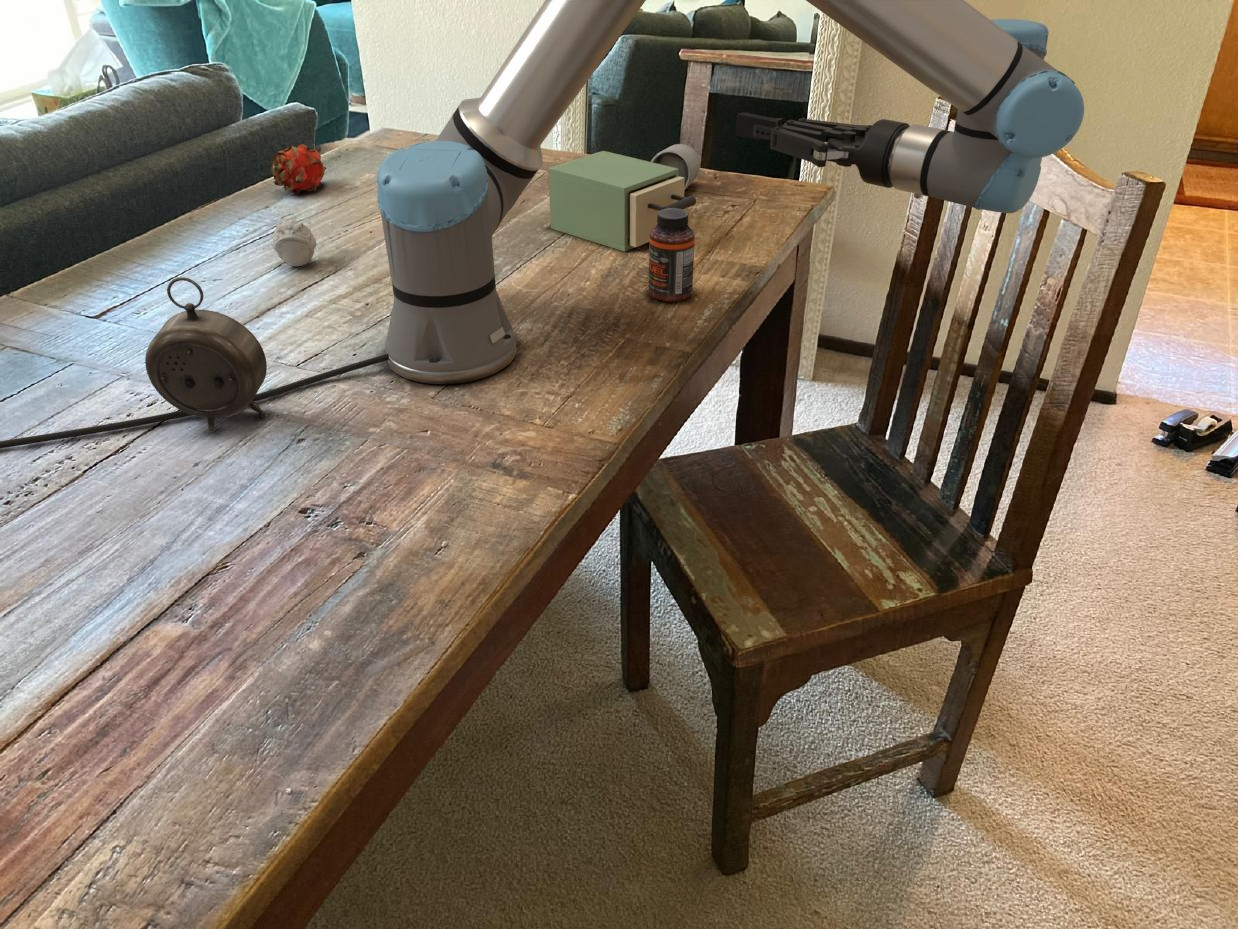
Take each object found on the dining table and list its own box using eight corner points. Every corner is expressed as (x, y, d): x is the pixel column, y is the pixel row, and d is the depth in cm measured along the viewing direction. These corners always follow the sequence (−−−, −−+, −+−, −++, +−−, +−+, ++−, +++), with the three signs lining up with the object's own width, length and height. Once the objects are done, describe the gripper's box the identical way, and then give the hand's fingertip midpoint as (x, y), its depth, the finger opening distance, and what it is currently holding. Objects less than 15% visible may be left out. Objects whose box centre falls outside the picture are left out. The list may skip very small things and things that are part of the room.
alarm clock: (280, 408, 100) (245, 266, 91) (264, 434, 96) (226, 288, 87) (179, 409, 100) (135, 267, 91) (158, 435, 96) (110, 289, 87)
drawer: (704, 233, 142) (707, 182, 138) (657, 254, 135) (658, 201, 131) (613, 207, 153) (613, 159, 148) (565, 225, 146) (563, 176, 141)
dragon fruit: (278, 209, 160) (320, 199, 170) (309, 183, 156) (350, 174, 166) (249, 166, 159) (293, 157, 169) (279, 138, 155) (322, 131, 165)
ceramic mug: (701, 184, 166) (703, 140, 161) (689, 198, 159) (690, 152, 155) (645, 179, 169) (645, 136, 164) (631, 193, 162) (630, 148, 158)
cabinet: (677, 229, 146) (678, 168, 141) (624, 251, 139) (624, 187, 133) (604, 208, 155) (603, 150, 150) (550, 228, 147) (548, 167, 142)
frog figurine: (274, 276, 131) (263, 228, 127) (279, 258, 137) (269, 212, 133) (318, 273, 132) (309, 225, 128) (322, 255, 138) (313, 209, 134)
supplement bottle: (639, 294, 125) (639, 212, 119) (668, 282, 129) (670, 201, 123) (671, 307, 122) (674, 223, 116) (701, 294, 125) (705, 212, 119)
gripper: (870, 200, 108) (708, 162, 121) (921, 176, 117) (764, 142, 129) (880, 135, 104) (711, 102, 117) (932, 114, 112) (769, 85, 125)
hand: (739, 123), depth 123 cm, fingers closed
